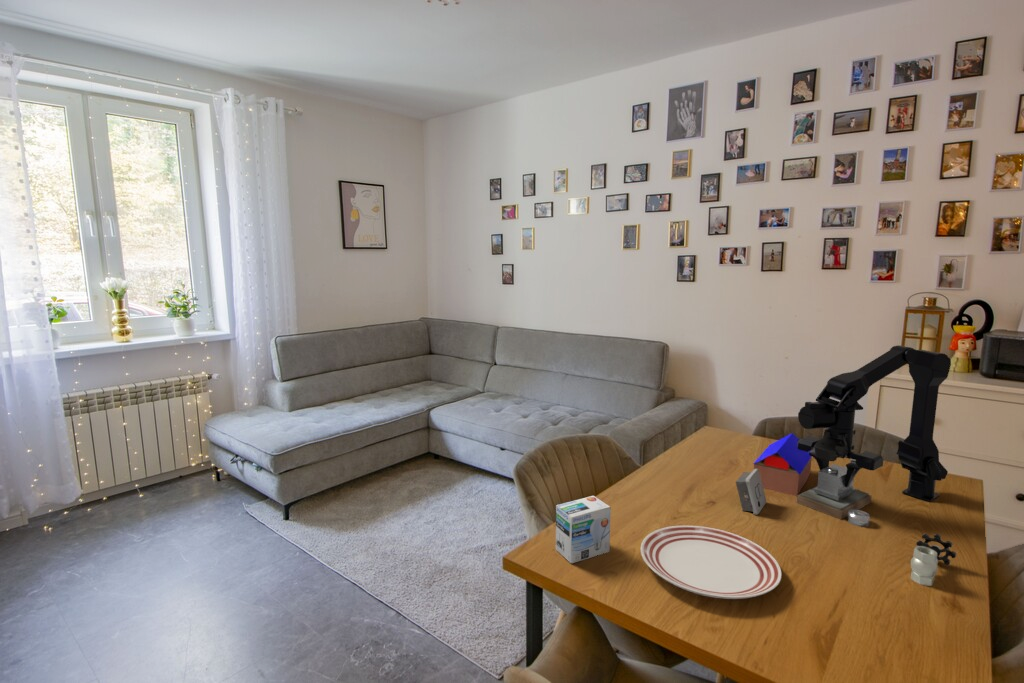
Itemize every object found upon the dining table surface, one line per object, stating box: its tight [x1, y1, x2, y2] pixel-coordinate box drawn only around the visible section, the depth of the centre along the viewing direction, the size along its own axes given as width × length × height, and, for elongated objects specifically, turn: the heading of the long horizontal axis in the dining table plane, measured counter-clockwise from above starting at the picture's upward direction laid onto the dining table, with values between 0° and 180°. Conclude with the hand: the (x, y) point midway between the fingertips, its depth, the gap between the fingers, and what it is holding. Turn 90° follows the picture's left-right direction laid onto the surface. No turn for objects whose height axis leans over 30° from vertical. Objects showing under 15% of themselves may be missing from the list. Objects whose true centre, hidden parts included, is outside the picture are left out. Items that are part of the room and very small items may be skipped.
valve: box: [910, 533, 958, 587], centre depth 106 cm, size 7×7×12 cm
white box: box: [555, 495, 612, 564], centre depth 116 cm, size 11×7×11 cm, turn 117°
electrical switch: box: [735, 468, 767, 516], centre depth 136 cm, size 9×5×9 cm, turn 141°
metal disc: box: [847, 509, 871, 528], centre depth 128 cm, size 4×4×2 cm
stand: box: [796, 485, 872, 520], centre depth 138 cm, size 16×11×2 cm
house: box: [752, 432, 813, 497], centre depth 152 cm, size 12×20×12 cm, turn 141°
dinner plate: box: [640, 524, 782, 600], centre depth 109 cm, size 27×27×3 cm
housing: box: [814, 463, 857, 501], centre depth 137 cm, size 9×6×7 cm, turn 123°
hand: (835, 483), depth 137 cm, fingers open, 5 cm apart
